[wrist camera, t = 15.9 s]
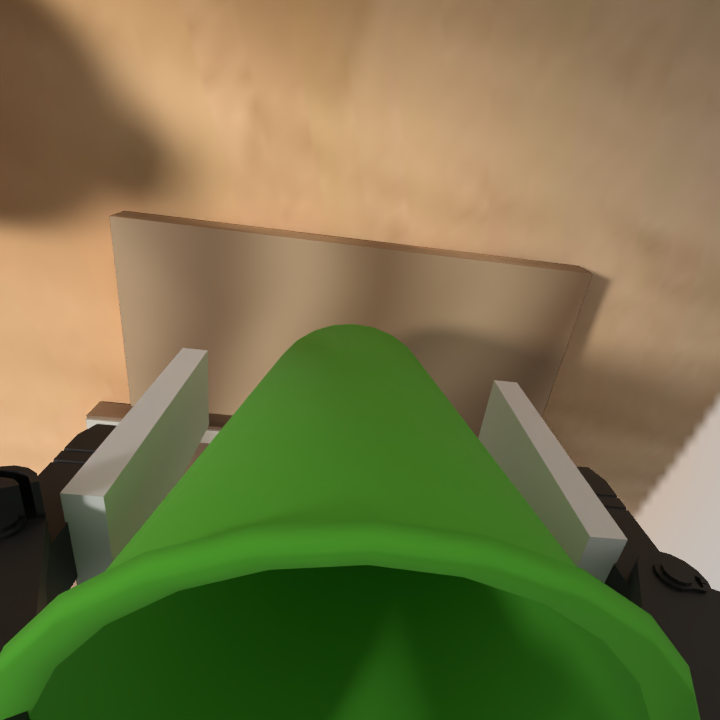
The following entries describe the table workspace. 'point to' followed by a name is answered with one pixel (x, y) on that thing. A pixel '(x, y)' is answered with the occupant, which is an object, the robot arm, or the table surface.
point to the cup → (344, 577)
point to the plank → (336, 306)
